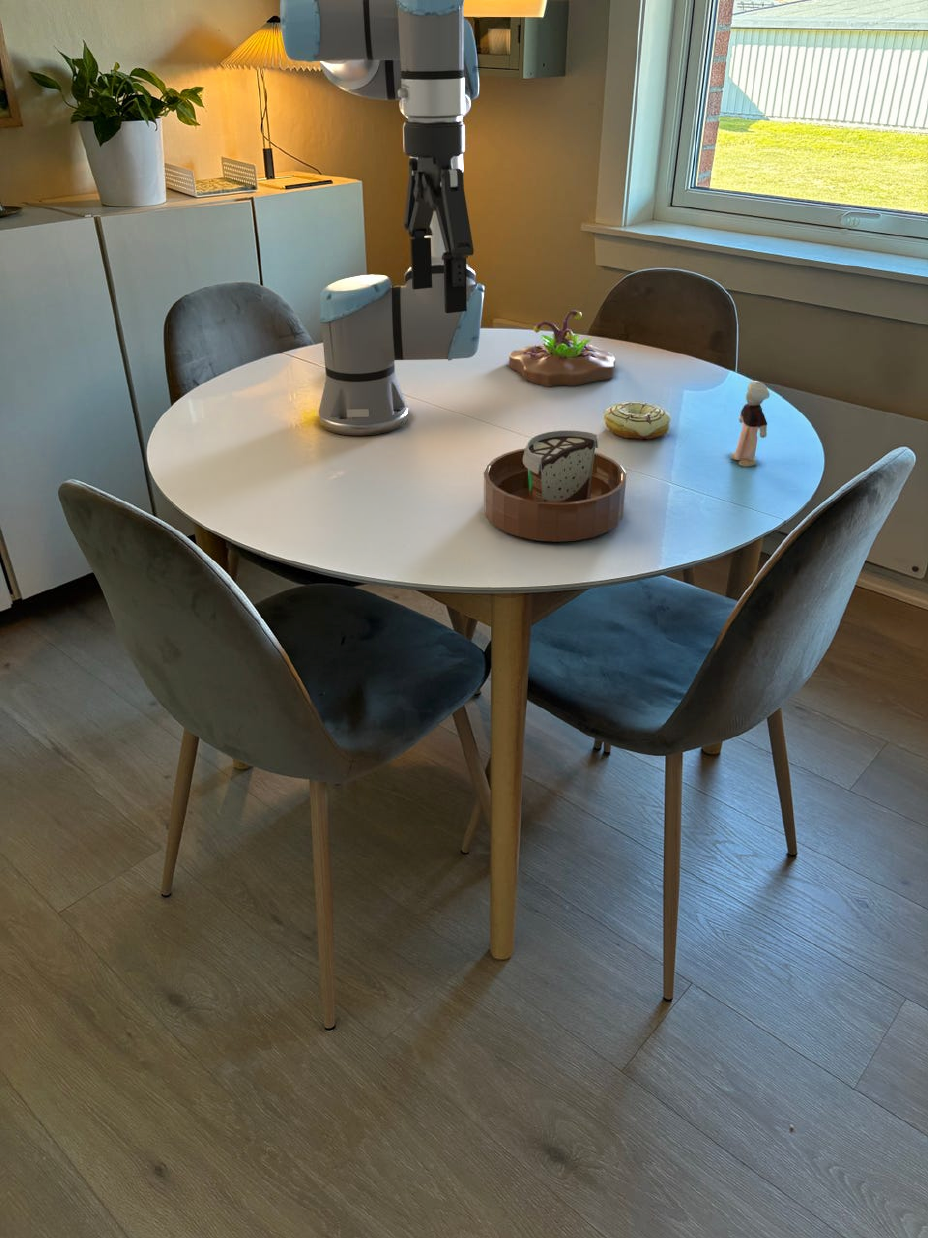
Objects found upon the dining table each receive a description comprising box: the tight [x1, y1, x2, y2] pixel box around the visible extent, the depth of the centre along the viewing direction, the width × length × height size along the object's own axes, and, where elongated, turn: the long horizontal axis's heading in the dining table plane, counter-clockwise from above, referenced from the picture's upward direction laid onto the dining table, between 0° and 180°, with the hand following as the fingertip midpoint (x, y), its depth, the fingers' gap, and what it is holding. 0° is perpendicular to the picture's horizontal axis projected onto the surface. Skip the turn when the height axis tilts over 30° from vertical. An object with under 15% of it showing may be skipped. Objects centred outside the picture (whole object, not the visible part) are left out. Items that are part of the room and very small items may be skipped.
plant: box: [508, 309, 616, 388], centre depth 180 cm, size 20×20×11 cm
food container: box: [523, 430, 599, 502], centre depth 127 cm, size 12×6×10 cm, turn 134°
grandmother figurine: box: [730, 380, 771, 468], centre depth 140 cm, size 8×4×13 cm, turn 23°
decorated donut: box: [603, 401, 671, 440], centre depth 154 cm, size 10×11×4 cm
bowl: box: [483, 448, 627, 543], centre depth 128 cm, size 19×19×6 cm
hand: (438, 299), depth 124 cm, fingers open, 13 cm apart
